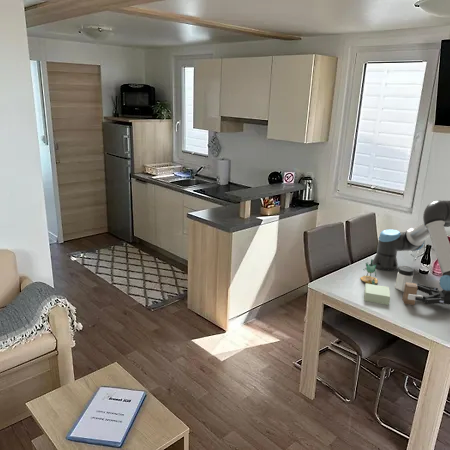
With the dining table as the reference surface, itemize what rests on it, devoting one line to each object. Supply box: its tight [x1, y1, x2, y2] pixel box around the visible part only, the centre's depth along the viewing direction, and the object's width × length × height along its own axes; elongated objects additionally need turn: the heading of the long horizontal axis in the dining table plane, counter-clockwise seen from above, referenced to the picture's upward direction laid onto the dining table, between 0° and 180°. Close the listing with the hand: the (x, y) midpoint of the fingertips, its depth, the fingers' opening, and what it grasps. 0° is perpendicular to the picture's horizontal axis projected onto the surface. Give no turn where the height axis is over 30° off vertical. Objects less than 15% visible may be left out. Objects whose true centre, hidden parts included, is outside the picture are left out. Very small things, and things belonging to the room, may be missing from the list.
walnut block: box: [402, 282, 418, 306], centre depth 214 cm, size 5×5×10 cm
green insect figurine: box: [359, 258, 379, 285], centre depth 237 cm, size 10×18×15 cm, turn 163°
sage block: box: [363, 283, 391, 306], centre depth 219 cm, size 12×12×5 cm
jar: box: [394, 265, 415, 292], centre depth 230 cm, size 9×8×12 cm
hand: (405, 291), depth 215 cm, fingers open, 12 cm apart
